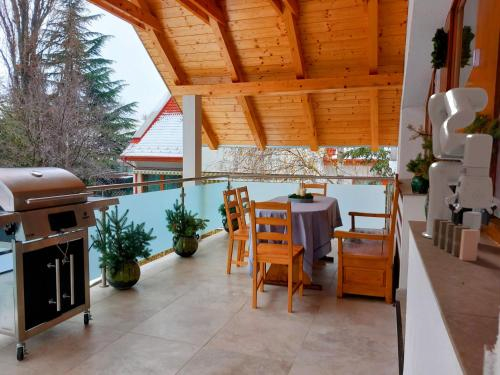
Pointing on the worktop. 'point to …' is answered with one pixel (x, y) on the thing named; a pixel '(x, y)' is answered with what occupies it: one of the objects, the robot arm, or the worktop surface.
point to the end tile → (469, 245)
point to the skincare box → (472, 221)
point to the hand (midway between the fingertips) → (469, 224)
